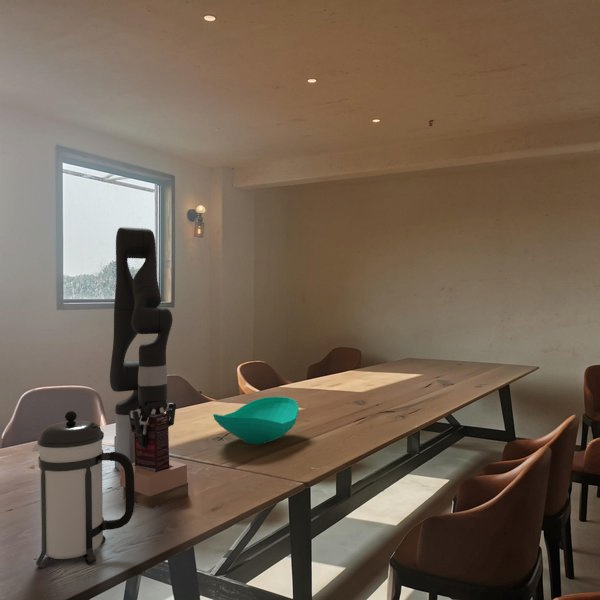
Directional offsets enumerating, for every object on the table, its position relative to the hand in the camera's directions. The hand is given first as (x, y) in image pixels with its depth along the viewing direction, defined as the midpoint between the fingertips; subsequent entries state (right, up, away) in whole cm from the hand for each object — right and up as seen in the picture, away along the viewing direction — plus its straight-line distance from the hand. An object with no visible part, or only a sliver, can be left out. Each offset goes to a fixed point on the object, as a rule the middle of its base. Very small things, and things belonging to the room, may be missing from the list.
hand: (153, 445), depth 150 cm
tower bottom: (+1, -15, +1) cm, 15 cm away
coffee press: (-7, -15, -32) cm, 36 cm away
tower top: (0, -11, 0) cm, 11 cm away
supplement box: (0, -8, 0) cm, 8 cm away
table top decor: (+24, -14, +56) cm, 62 cm away
